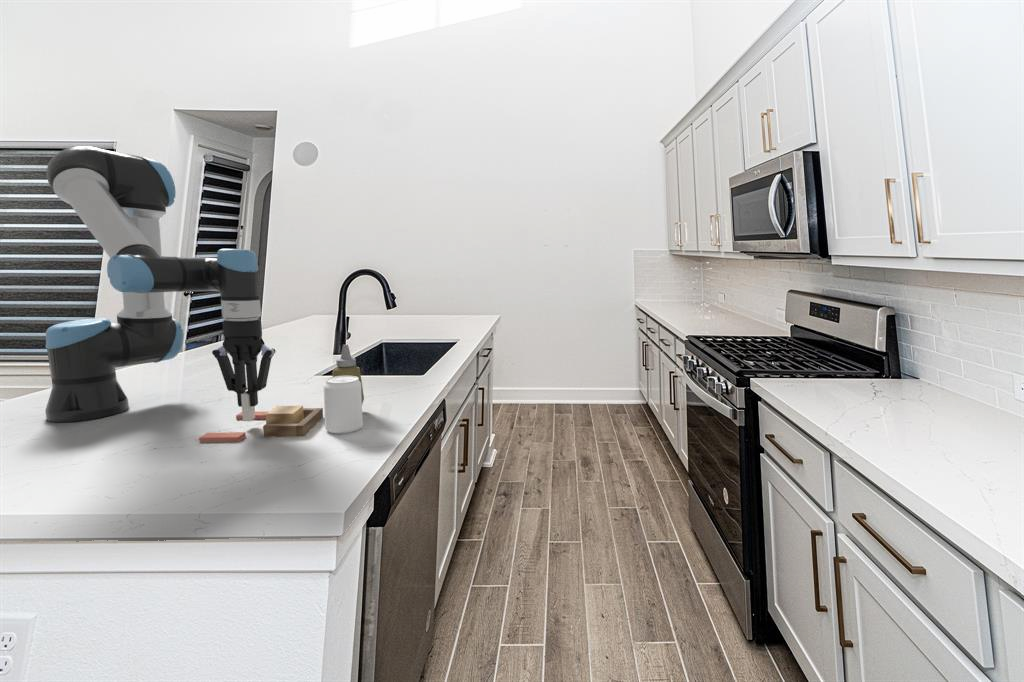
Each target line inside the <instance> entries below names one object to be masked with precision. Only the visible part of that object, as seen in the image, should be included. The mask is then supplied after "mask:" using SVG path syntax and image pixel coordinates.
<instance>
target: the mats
mask: <svg viewBox="0 0 1024 682" xmlns="http://www.w3.org/2000/svg"><path fill="white" fill-rule="evenodd" d="M269 411H270V410H269ZM269 411H268V410H267V411H264V410H262V411H255V418H254V419H253V420H266V415H265V414H266V413H267V412H269ZM235 419H236V420H243V416H242V411H241V412H239V413H238V414H236V415H235ZM246 432H247V431H241V432H238V431H237V432H235V431H234V432H232V431H230V432H229V431H228V432H206V433H204V434H203V435H201V436H199V437H198V442H199V443H227V442H228V443H229V442H230V443H232V442H233V443H235V442H236V443H237V442H238V443H239V442H240V441H242V440H243V439H245V438H246V437H247V434H246Z"/></svg>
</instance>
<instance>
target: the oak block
mask: <svg viewBox="0 0 1024 682" xmlns="http://www.w3.org/2000/svg"><path fill="white" fill-rule="evenodd" d="M303 408H304V405H277V406H274V408H272V409H270V410H269V412H267V413H266V414H265V415H266V419H265V424H299V423H300V422H301V421H302V420H303V419H304V415H303Z"/></svg>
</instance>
